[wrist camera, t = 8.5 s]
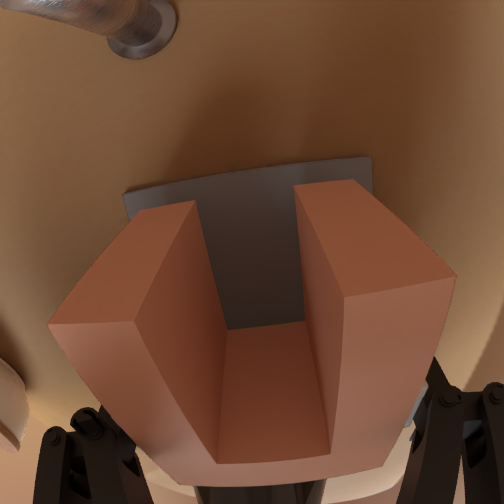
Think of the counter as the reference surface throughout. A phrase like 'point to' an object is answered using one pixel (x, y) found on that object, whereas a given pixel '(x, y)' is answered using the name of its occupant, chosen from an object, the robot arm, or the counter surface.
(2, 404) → the lidded jar
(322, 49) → the counter surface
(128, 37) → the peg post
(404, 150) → the counter surface
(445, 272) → the c link
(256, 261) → the mat
